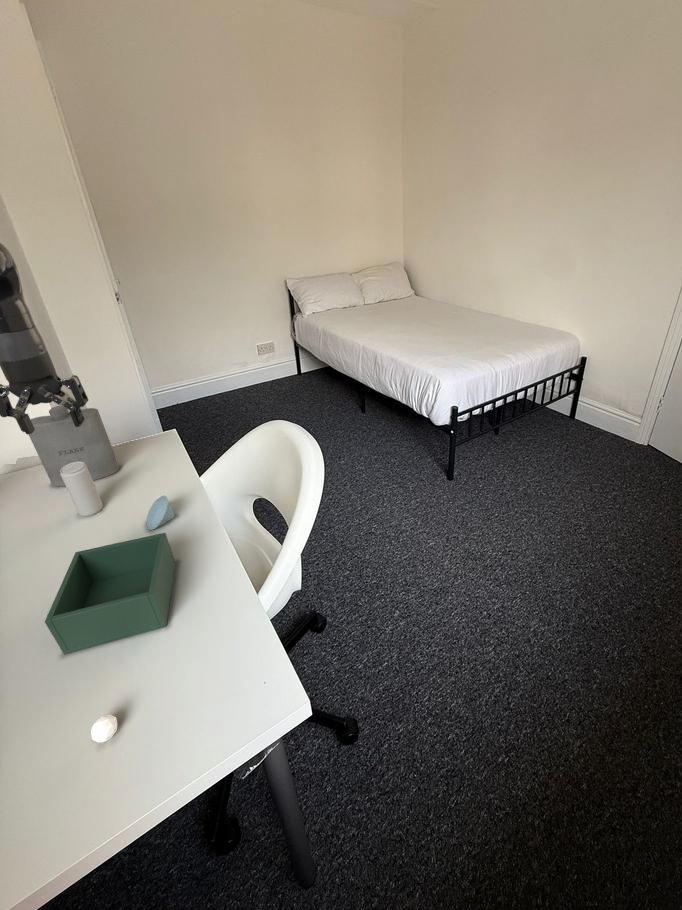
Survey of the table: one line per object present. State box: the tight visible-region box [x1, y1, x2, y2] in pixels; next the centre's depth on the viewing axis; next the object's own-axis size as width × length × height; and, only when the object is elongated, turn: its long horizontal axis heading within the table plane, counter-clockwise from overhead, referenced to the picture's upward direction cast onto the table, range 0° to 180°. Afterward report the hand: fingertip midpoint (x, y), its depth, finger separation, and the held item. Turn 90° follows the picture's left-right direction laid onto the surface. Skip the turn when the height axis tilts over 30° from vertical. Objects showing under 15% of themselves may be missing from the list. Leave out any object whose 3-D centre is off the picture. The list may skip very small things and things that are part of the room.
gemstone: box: [146, 495, 176, 531], centre depth 91 cm, size 8×8×5 cm
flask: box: [27, 405, 120, 487], centre depth 103 cm, size 15×6×20 cm, turn 114°
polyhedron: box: [90, 714, 118, 744], centre depth 54 cm, size 3×3×3 cm
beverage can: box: [60, 462, 104, 518], centre depth 93 cm, size 5×5×12 cm
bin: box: [44, 532, 177, 656], centre depth 71 cm, size 15×15×8 cm
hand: (55, 428), depth 85 cm, fingers open, 8 cm apart
